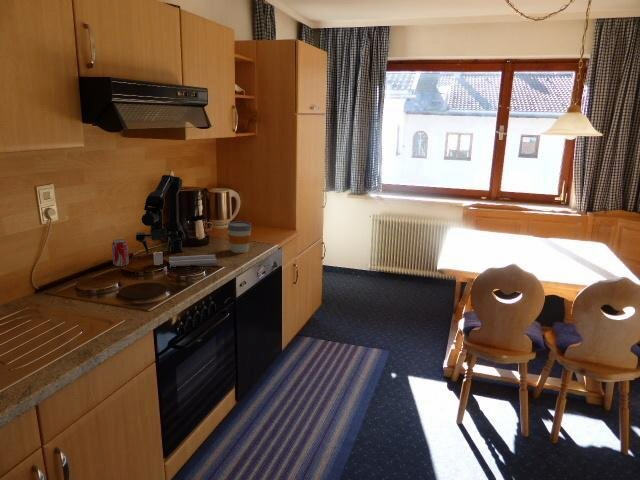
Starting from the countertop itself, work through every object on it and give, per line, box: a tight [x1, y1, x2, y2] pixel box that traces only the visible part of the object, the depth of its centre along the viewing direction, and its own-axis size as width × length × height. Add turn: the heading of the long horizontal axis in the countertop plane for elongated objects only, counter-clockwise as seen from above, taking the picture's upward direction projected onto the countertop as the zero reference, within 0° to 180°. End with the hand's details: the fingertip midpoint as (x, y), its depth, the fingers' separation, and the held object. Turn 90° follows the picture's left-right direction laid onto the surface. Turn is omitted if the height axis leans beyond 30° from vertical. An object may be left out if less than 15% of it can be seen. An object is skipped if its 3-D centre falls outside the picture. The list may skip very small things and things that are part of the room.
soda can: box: [111, 238, 129, 267], centre depth 223 cm, size 7×7×12 cm
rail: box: [168, 254, 218, 269], centre depth 230 cm, size 10×22×3 cm, turn 108°
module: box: [153, 251, 164, 266], centre depth 226 cm, size 5×4×6 cm
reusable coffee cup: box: [227, 221, 252, 254], centre depth 255 cm, size 13×13×15 cm
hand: (158, 253), depth 225 cm, fingers open, 9 cm apart
